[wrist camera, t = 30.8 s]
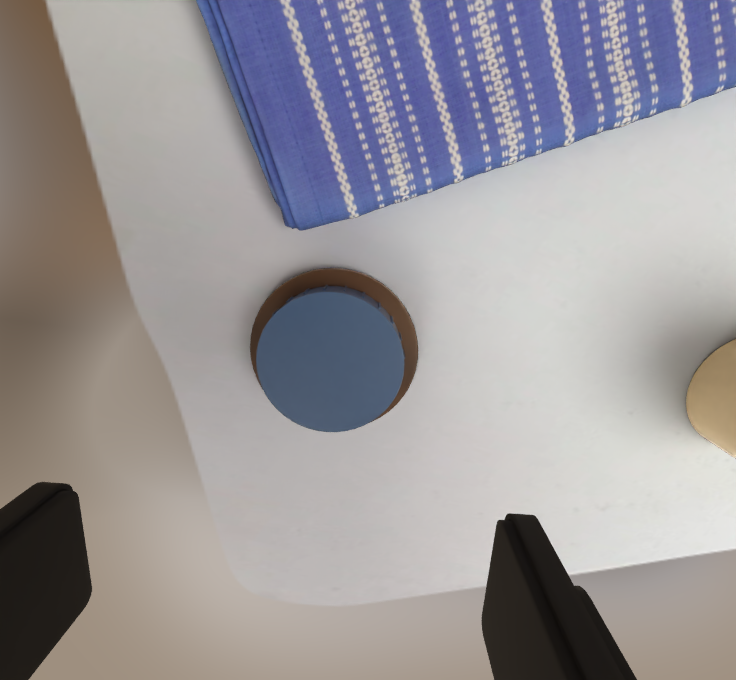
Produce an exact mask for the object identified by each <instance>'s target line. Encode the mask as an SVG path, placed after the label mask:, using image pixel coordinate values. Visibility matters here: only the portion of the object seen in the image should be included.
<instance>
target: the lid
mask: <svg viewBox="0 0 736 680" xmlns="http://www.w3.org/2000/svg"><path fill="white" fill-rule="evenodd" d="M401 341H402V337H401V333H400V332H398V330H397V327H396V325H395V323H394V321H393V317H392V316H390V315H389V314H388V312H387V311H386V310H385V309H384V308H383V307H382V306H381V303H380V302H379V303H378V302H376V301H375V300H374V299H373V298H371V297H369V296H368V295H366V294H365V292H363V293H362V292H359V291H357V290H354V289H351V288H347V286H345V287H340V286H328V285H325V286H323V287H317V288H313V289H310V288H308V289H307V290H306V291H305V292H302V293H300V294H298V295H297V296H295V297H293V296H292V297H291V298H290V299H288V300H287V301H286V304H285V305H283V306H282V307H281V308H280V309H277V310H276V311H275V312H274V313H273V314H272V317H271V318H270V320H269V321H268V323H267V324H266V326H265V328H264V329H263V330H262V333H261V336H260V339H259V342H258V347H257V353H256V366H257V373H258V377H259V380H260V383H261V386H262V388H263V390H264V392H265V394H266V396H267V397H268V399H269V400H270V402H271V403H272V404H273V405H274V406H275V407H276V409H277V410H278V411H280V412H281V413H282V414H283V415H284V416H285V417H287V418H288V419H290V420H291V421H293V422H295V423H297V424H299V425H301V426H304V427H306V428H309V429H313V430H317V431H324V432H341V431H348V430H352V429H356V428H358V427H361V426H364V425H366V424H367V423H369V422H371V421H373V420H374V419H376V418H377V417H379V416H380V415H381V414H382V413H383V412H384V411H385V410H386V409H387V408H388V407H389V406H390V404H391V403H392V402H393V400H394V399H395V397H396V395H397V393H398V391H399V389H400V386H401V383H402V380H403V377H404V359H405V353H404V349H403V348H402V343H401Z"/></svg>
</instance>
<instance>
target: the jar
mask: <svg viewBox="0 0 736 680" xmlns="http://www.w3.org/2000/svg"><path fill="white" fill-rule="evenodd" d="M686 409H687V414H688V417H689V420H690V422H691V424H692V426H693V427H694V429H695V430H696V431H697V432H698V433H699V434H700V435H701V436H702V437H703V438H705V439H706V440H708V441H709V442H711V443H712V444H714V445H715V446H717V447H718V448H720V449H721V450H723V451H725V452H726V453H728V454H729V455H731V456H732V457H734V458H735V459H736V339H735V340H733V341H730V342H728V343H726V344H725V345H723V346H722V347H720V348H718V349H717V350H716V351H714V352H713V353H712V354H711V355H710V356H709V357H708V358H707V359H706V360H705V361H704V362H703V363H702V364H701V365H700V367H699V368H698V369H697V371H696V372H695V374H694V376H693V378H692V380H691V382H690V385H689V388H688V392H687V397H686Z"/></svg>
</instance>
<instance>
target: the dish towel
mask: <svg viewBox="0 0 736 680" xmlns="http://www.w3.org/2000/svg"><path fill="white" fill-rule="evenodd" d="M196 2H197V4H198V7H199V9H200V12H201V14H202V16H203V18H204V21H205V24H206V26H207V29H208V32H209V35H210V38H211V41H212V43H213V46H214V49H215V52H216V55H217V57H218V60H219V63H220V66H221V68H222V71H223V73H224V76H225V78H226V81H227V84H228V86H229V89H230V92H231V94H232V97H233V99H234V102H235V104H236V107H237V109H238V112H239V114H240V117H241V120H242V122H243V124H244V127H245V129H246V132H247V134H248V137H249V140H250V142H251V144H252V146H253V148H254V150H255V152H256V154H257V157H258V159H259V162H260V165H261V168H262V170H263V173H264V175H265V178H266V180H267V183H268V186H269V188H270V191H271V193H272V196H273V198H274V200H275V202H276V203H277V204H278V206H279V207H280V208H281V211H282V215H283V219H284V223H285V225H286V226H287V227H291V228H292V229H293V228H298V229H299V230H300V231H301V230H306V229H310V228H314V227H318V226H321V225H325V224H329V223H332V222H336V221H340V220H344V219H350V218H356V217H358V216H361V215H363V214H366V213H368V212H371V211H373V210H376V209H380V208H383V207H385V206H388V205H390V204H394V203H398V202H404V201H407V200H409V199H411V198H414V197H417V196H419V195H423V194H427V193H430V192H432V191H435V190H437V189H439V188H442V187H444V186H446V185H449V184H454V183H459V182H461V181H462V180H464V179H467V178H469V177H472V176H474V175H477V174H480V173H484V172H488V171H490V170H493V169H495V168H499V167H504V166H507V165H511V164H514V163H515V162H518V161H520V160H523V159H525V158H527V157H531V156H535V155H538V154H541V153H543V152H546V151H548V150H551V149H555V148H558V147H565V146H568V145H570V144H572V143H574V142H576V141H579V140H581V139H583V138H586V137H588V136H591V135H595V134H598V133H601V132H603V131H606V130H611V129H615V128H618V127H623V126H626V125H628V124H630V123H632V122H635V121H637V120H640V119H643V118H648V117H651V116H653V115H656V114H658V113H661V112H663V111H666V110H669V109H673V108H681V107H684V106H686V105H687V104H689V103H691V102H693V101H696V100H698V99H700V98H704V97H707V96H711V95H714V94H716V93H719V92H721V91H723V90H726V89H730V88H733V87H736V0H196Z"/></svg>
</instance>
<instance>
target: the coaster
mask: <svg viewBox="0 0 736 680" xmlns="http://www.w3.org/2000/svg"><path fill="white" fill-rule="evenodd" d="M325 285H328V286H340V287H345V286H347V288H351V289H354V290H357V291H359V292H362V293H363V292H365V294H366V295H368V296H369V297H371V298H373V299H374V300H375V301H376V302H378V303H379V302H380V303H381V306H382V307H383V308H384V309H385V310H386V311H387V312H388V314H389V315H390V316H392V317H393V321H394V323H395V325H396V327H397V330H398V332H400V333H401V337H402V341H401V343H402V348H403V349H404V353H405V359H404V377H403V380H402V383H401V386H400V389H399V391H398V393H397V395H396V397H395V399H394V400H393V402H392V403H391V404H390V406H389V407H388V408H387V409H386V410H385V411H384V412H383V413H382V414H381V415H380V416H379V417H377V418H376V419H378V418H380V417H381V416H383V415H384V414H386V413H387V412H389V411H390V410H391V409H392V408H393V407H394V406H395V405H396V404H397V403H398V402H399V401H400V400H401V398H402V397H403V396H404V394H405V393H406V391H407V390H408V388H409V386H410V384H411V382H412V380H413V377H414V374H415V371H416V366H417V360H418V343H417V336H416V332H415V328H414V325H413V323H412V320H411V318H410V315H409V313H408V312H407V310H406V308H405V306H404V305H403V304H402V302H401V301H400V300H399V298H398V297H397V296H396V295H395V294H394V293H393V292H392V291H391V290H390V289H389V288H387V287H386V286H385V285H384V284H382V283H381V282H379V281H378V280H376V279H374V278H372V277H371V276H368V275H366V274H363V273H361V272H357V271H353V270H350V269H342V268H323V269H316V270H312V271H308V272H305V273H302V274H300V275H298V276H296V277H293V278H292V279H290V280H289V281H287V282H285V283H284V284H282V285H281V286H280V287H279V288H277V289H276V290H275V291H274V292H273V293H272V294H271V295H270V296H269V297H268V298H267V300H266V301H265V303H264V304H263V305H262V307H261V308H260V310H259V312H258V315H257V317H256V319H255V322H254V325H253V328H252V334H251V342H250V352H251V360H252V365H253V369H254V372H255V374H256V377H257V380H258V381H259V383H260V380H259V377H258V373H257V366H256V353H257V347H258V342H259V339H260V336H261V333H262V330H263V329H264V328H265V326H266V324H267V323H268V321H269V320H270V318H271V317H272V314H273V313H274V312H275V311H276V310H277V309H280V308H281V307H282V306H283V305H285V304H286V301H287V300H288V299H290V298H291V297H292V296H293V297H295V296H297V295H298V294H300V293H302V292H305V291H306V290H307V289H308V288H310V289H313V288H317V287H323V286H325ZM260 385H261V383H260ZM261 387H262V386H261ZM262 389H263V388H262ZM376 419H374V420H376ZM374 420H373V421H374ZM371 422H372V421H371ZM369 423H370V422H369Z"/></svg>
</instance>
